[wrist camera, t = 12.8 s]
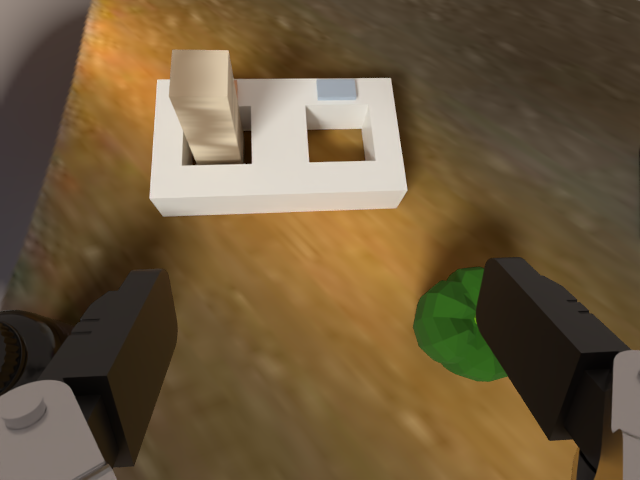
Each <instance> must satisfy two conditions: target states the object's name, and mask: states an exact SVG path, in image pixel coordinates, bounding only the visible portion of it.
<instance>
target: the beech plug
mask: <svg viewBox="0 0 640 480" xmlns="http://www.w3.org/2000/svg"><path fill="white" fill-rule="evenodd" d="M169 98H170V100H171V103H172V105H173V108H174V110H175V112H176V115H177V117H178V120H179V122H180V125H181V127H182V129H183V132H184V134H185V137H186V139H187V141H188V144H189V146H190V149H191V151H192V153H193V156H194V158H195V161H196V163H197V165H229V164H244V148H245V140H244V134H243V129H242V123H241V117H240V112H239V106H238V101H237V95H236V89H235V84H234V78H233V72H232V67H231V61H230V56H229V50H172V61H171V73H170V86H169Z"/></svg>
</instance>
